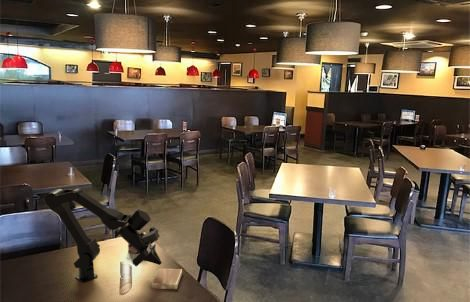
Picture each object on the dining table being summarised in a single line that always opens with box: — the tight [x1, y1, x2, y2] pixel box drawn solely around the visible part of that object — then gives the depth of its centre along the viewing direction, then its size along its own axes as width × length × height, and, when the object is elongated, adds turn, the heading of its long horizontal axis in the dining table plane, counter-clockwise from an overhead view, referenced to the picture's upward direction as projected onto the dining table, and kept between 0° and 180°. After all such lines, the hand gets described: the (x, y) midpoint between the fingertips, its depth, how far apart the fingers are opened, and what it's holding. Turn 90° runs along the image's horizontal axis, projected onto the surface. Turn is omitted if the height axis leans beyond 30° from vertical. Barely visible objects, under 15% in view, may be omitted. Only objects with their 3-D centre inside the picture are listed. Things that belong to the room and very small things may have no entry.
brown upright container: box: [127, 243, 137, 256], centre depth 173 cm, size 8×3×10 cm, turn 76°
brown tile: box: [150, 268, 183, 290], centre depth 150 cm, size 3×12×10 cm
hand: (160, 263), depth 149 cm, fingers closed
